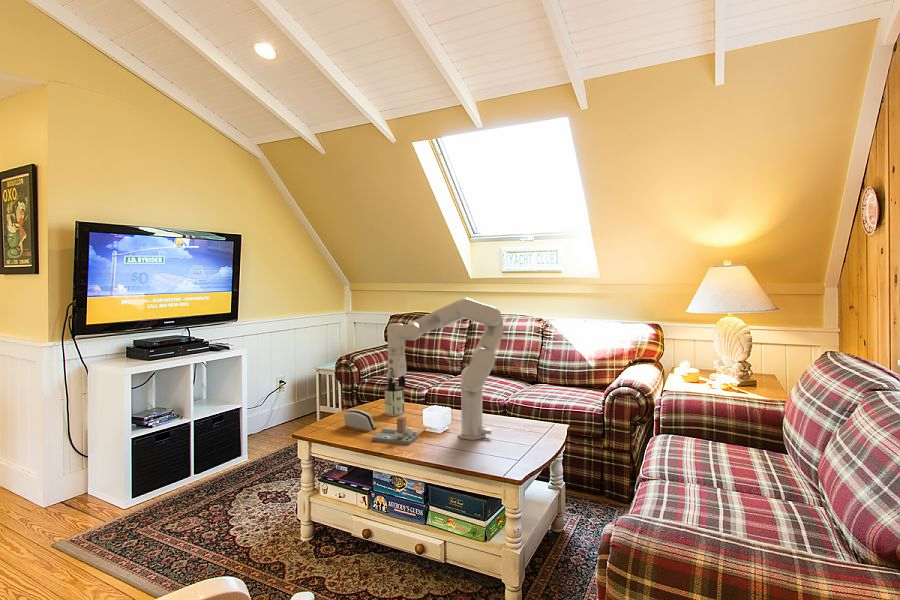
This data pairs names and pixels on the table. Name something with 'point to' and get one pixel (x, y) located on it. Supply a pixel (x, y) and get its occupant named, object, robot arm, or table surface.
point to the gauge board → (389, 437)
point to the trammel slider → (401, 428)
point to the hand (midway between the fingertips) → (396, 388)
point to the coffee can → (394, 401)
